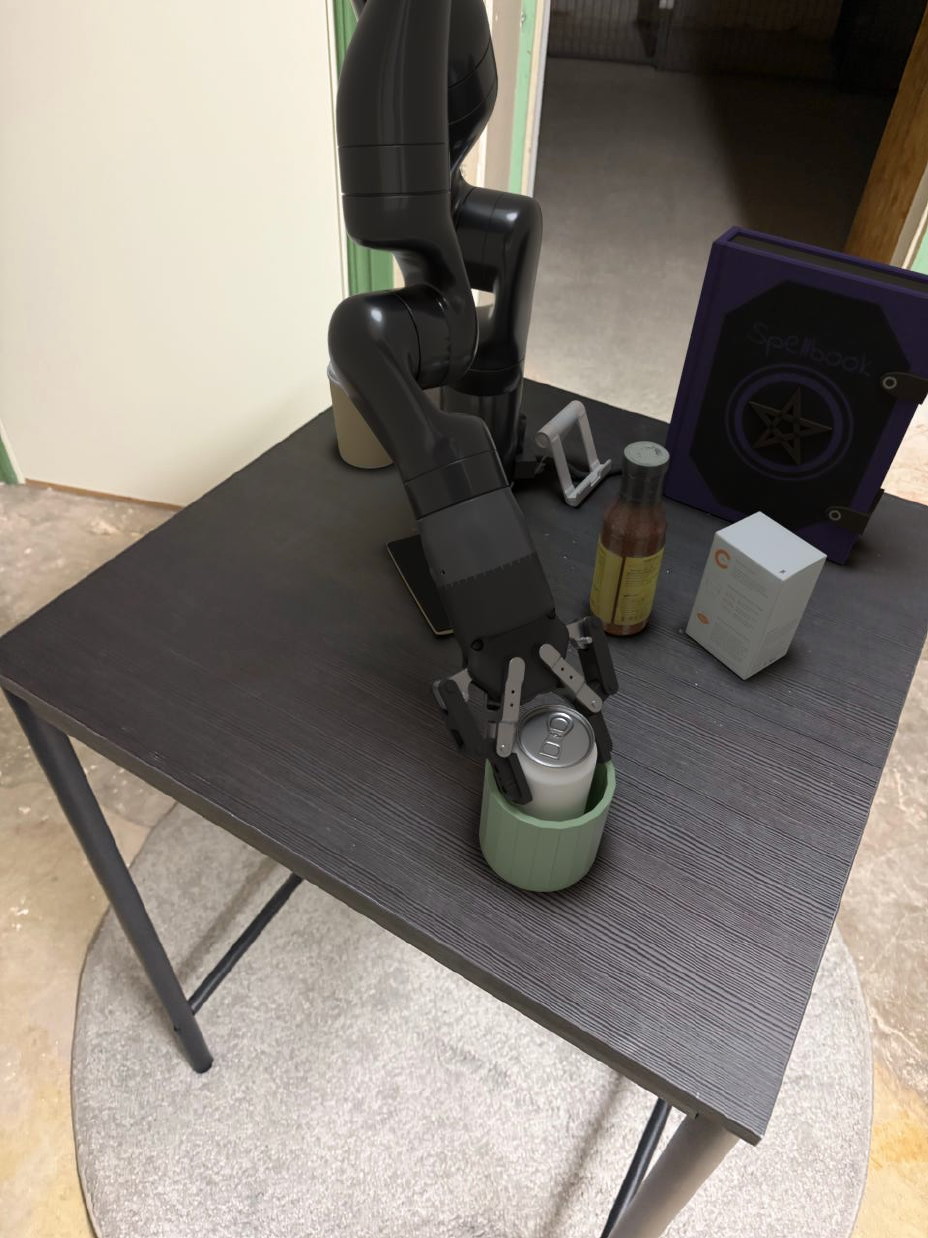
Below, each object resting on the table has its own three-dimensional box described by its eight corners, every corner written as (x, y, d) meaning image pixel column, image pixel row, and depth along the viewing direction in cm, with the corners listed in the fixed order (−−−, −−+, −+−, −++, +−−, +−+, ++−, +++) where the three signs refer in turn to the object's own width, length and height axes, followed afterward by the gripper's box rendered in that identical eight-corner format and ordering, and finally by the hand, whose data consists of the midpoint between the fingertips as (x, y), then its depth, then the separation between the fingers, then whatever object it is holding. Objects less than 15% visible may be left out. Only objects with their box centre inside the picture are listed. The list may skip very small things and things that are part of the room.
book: (652, 494, 105) (711, 241, 84) (673, 470, 109) (734, 223, 88) (845, 569, 96) (965, 309, 75) (861, 540, 100) (979, 285, 79)
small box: (786, 655, 86) (830, 555, 77) (743, 682, 83) (784, 581, 74) (725, 608, 91) (760, 508, 82) (682, 632, 88) (713, 531, 79)
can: (586, 806, 71) (609, 714, 63) (567, 873, 67) (589, 784, 58) (511, 782, 72) (524, 689, 64) (487, 847, 68) (497, 756, 60)
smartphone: (447, 526, 97) (505, 613, 87) (447, 534, 98) (504, 621, 88) (385, 541, 95) (437, 632, 85) (385, 549, 95) (437, 640, 86)
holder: (551, 770, 75) (563, 703, 69) (621, 856, 69) (642, 791, 63) (456, 819, 71) (461, 752, 65) (523, 914, 65) (535, 850, 59)
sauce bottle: (655, 608, 90) (698, 445, 77) (637, 647, 86) (680, 482, 72) (595, 589, 92) (627, 426, 78) (575, 625, 88) (605, 461, 74)
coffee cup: (412, 434, 112) (412, 347, 104) (401, 475, 106) (400, 386, 97) (341, 428, 113) (335, 341, 104) (325, 468, 106) (318, 379, 98)
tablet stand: (577, 509, 102) (587, 448, 96) (520, 486, 105) (526, 425, 99) (610, 475, 108) (621, 415, 102) (554, 453, 110) (562, 395, 105)
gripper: (415, 593, 55) (504, 834, 56) (593, 525, 61) (670, 744, 62) (378, 603, 62) (458, 817, 63) (541, 541, 68) (611, 738, 69)
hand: (563, 780), depth 63 cm, fingers closed on can, 6 cm apart
